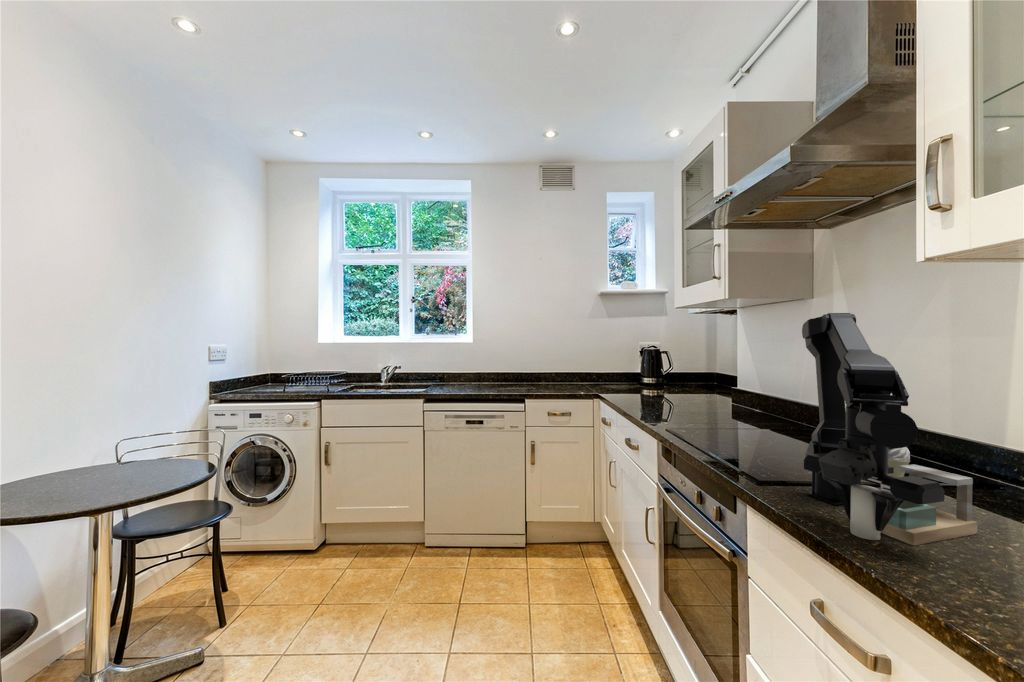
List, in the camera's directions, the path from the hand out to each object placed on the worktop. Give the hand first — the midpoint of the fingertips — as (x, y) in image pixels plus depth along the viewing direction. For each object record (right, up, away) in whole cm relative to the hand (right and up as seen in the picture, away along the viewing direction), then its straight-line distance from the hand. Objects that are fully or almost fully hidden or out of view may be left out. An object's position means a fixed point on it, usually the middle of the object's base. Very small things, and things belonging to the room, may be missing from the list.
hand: (865, 525), depth 72 cm
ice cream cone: (+23, -2, +20) cm, 30 cm away
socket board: (+11, -2, +3) cm, 12 cm away
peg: (0, -2, 0) cm, 2 cm away
